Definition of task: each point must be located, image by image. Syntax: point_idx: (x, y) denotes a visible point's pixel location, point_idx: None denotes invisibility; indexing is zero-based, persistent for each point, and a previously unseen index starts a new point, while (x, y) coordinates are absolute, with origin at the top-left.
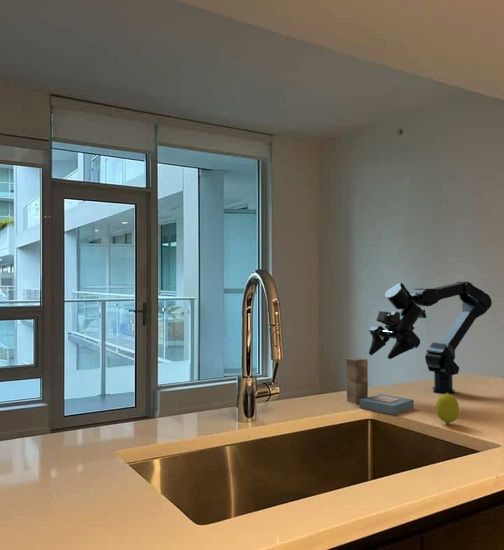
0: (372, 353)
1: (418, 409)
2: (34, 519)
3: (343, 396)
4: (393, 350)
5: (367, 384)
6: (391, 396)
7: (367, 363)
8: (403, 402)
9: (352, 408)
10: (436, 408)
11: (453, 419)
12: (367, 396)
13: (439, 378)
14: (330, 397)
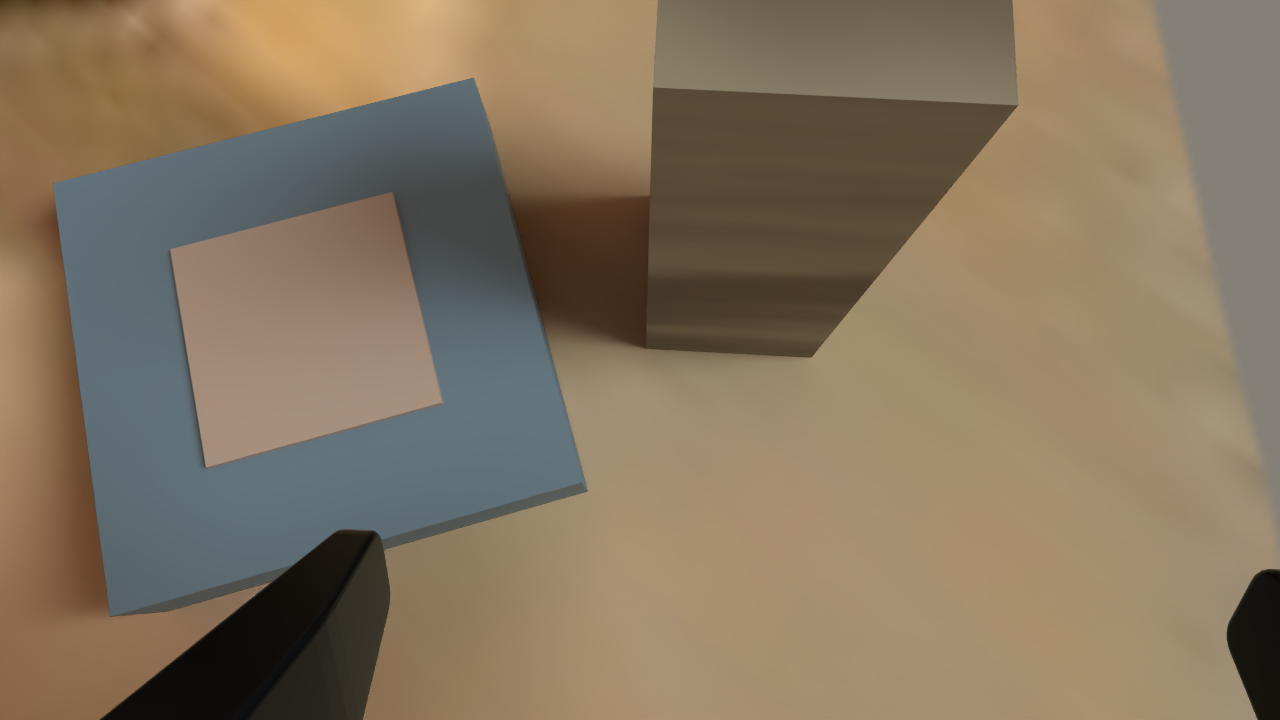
0: (1271, 694)
1: (101, 616)
2: None
3: (1005, 291)
4: (132, 709)
5: (649, 283)
6: (399, 497)
7: (653, 137)
8: (93, 399)
9: (512, 59)
10: None
11: None
12: (646, 327)
13: None
14: (1017, 143)
